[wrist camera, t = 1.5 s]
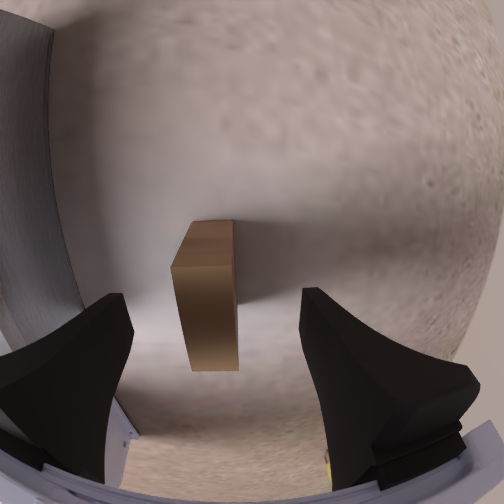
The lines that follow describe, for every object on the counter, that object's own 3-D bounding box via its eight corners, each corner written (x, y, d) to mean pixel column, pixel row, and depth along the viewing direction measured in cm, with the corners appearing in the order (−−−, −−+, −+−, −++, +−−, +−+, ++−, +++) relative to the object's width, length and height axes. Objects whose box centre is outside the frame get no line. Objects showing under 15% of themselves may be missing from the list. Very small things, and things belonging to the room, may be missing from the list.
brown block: (237, 304, 15) (238, 370, 11) (202, 305, 15) (192, 371, 11) (232, 219, 13) (231, 265, 9) (192, 221, 13) (170, 267, 9)
